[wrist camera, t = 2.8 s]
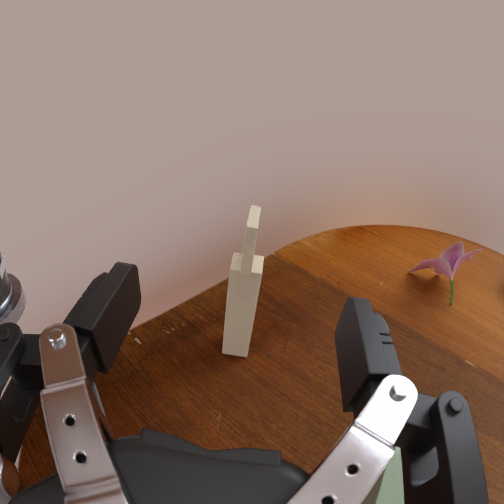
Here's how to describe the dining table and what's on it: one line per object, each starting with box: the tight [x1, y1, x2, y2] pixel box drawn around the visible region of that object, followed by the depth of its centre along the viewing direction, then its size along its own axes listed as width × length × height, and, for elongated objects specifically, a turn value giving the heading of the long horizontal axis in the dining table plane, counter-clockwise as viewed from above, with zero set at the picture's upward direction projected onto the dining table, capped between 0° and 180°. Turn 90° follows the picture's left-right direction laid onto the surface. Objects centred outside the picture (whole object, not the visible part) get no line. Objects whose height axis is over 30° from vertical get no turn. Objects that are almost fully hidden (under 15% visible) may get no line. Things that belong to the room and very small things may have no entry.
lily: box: [408, 241, 484, 305], centre depth 39 cm, size 12×12×10 cm
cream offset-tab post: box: [222, 205, 264, 357], centre depth 26 cm, size 2×4×14 cm, turn 175°
